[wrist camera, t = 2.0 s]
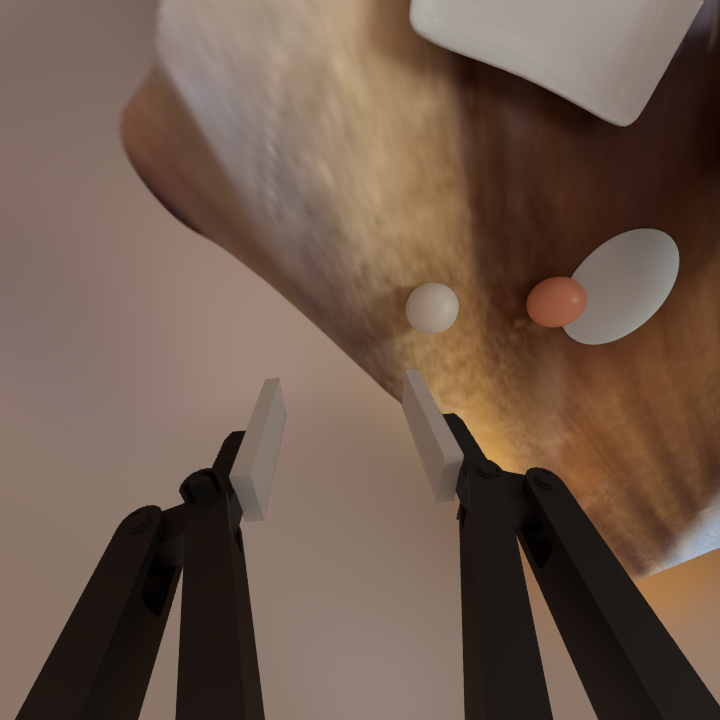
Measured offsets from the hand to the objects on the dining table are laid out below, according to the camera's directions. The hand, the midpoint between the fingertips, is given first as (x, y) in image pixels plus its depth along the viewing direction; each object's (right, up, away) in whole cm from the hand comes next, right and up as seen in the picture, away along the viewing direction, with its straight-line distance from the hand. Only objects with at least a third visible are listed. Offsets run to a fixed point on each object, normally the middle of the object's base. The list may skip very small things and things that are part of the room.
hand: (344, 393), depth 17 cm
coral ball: (+23, +8, +14) cm, 28 cm away
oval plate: (+32, +10, +17) cm, 38 cm away
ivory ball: (+9, +7, +13) cm, 17 cm away
